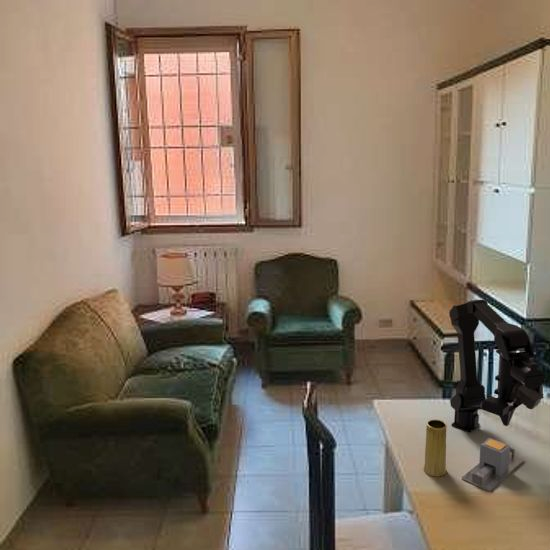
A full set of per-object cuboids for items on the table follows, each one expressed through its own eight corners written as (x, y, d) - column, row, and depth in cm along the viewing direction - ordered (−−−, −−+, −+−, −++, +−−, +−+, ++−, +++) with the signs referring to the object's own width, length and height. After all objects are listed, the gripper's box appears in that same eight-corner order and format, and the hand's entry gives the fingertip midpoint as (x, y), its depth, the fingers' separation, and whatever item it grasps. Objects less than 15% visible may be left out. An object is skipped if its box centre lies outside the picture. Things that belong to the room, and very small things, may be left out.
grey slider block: (479, 467, 157) (480, 443, 155) (487, 460, 160) (489, 437, 158) (500, 476, 152) (501, 452, 151) (508, 468, 155) (510, 444, 154)
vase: (446, 466, 159) (448, 420, 155) (445, 478, 153) (447, 430, 150) (424, 462, 161) (425, 417, 157) (422, 474, 155) (424, 427, 152)
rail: (461, 479, 152) (462, 470, 152) (497, 450, 166) (497, 442, 165) (489, 491, 147) (490, 483, 146) (524, 461, 160) (524, 452, 159)
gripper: (522, 394, 142) (517, 449, 146) (555, 372, 154) (550, 424, 157) (481, 380, 150) (478, 433, 154) (515, 360, 162) (511, 410, 166)
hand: (505, 425), depth 157 cm, fingers closed
